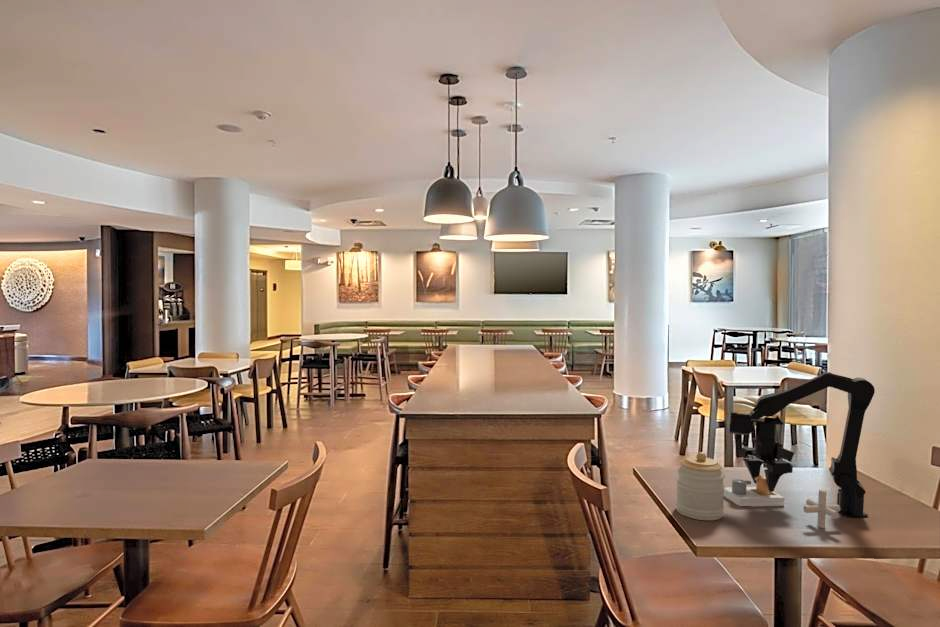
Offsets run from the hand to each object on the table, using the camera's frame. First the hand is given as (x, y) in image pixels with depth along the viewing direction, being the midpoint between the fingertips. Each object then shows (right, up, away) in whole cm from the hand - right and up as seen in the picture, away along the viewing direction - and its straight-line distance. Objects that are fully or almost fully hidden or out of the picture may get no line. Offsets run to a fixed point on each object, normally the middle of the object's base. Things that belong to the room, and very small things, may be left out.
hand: (763, 487), depth 185 cm
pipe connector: (+6, -5, -20) cm, 22 cm away
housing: (-4, -4, 0) cm, 5 cm away
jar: (-24, -4, -12) cm, 27 cm away
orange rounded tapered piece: (0, -3, 0) cm, 3 cm away
